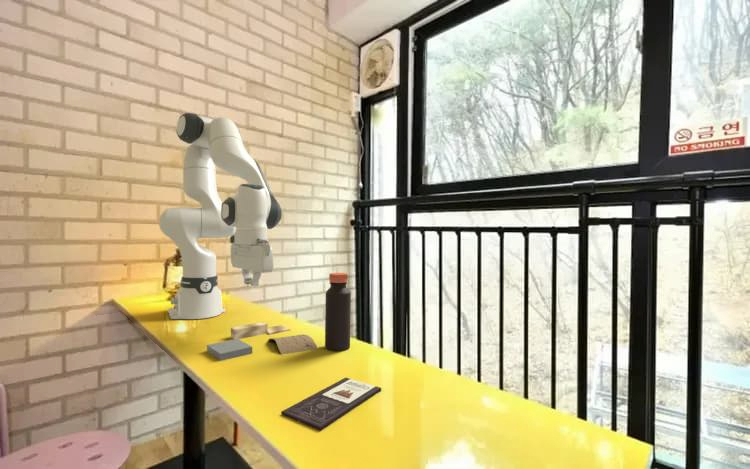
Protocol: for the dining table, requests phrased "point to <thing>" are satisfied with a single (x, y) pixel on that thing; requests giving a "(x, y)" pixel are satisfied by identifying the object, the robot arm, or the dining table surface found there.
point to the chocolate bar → (331, 403)
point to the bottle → (337, 313)
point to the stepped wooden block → (255, 330)
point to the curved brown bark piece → (294, 344)
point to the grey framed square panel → (229, 349)
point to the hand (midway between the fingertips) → (251, 284)
